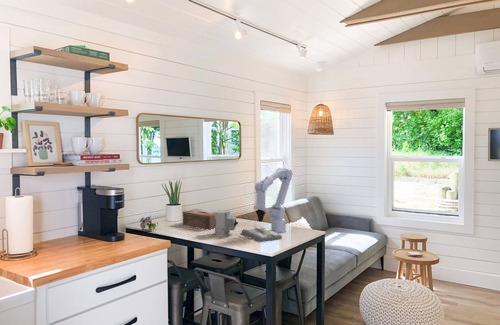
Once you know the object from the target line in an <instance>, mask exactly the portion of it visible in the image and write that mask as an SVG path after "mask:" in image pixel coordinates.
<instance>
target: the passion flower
mask: <svg viewBox="0 0 500 325" xmlns="http://www.w3.org/2000/svg"><path fill="white" fill-rule="evenodd" d="M152 220H153V219H152V215H149V216H147V217H141V219H140V220H139V223H140V224H139V225H140V228H141V229H140V231H144V229H145V228H146V227H147V228H148V231H149V232H150V233H151V232H152V231H154V230H155V229H156V227H157V226H159V222H154V223H153V222H152Z"/></svg>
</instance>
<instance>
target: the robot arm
mask: <svg viewBox="0 0 500 325" xmlns="http://www.w3.org/2000/svg"><path fill="white" fill-rule="evenodd" d="M292 177H293V171H292V169H291V168H286V167H285V168H283V167H278V168H277V169H276V170H275V171H274V173H272V174H271V175H270V176H265V178H264V179H262V180H261V181H258V182H256V183H255V186H254V189H255V193H256V205H253V209H254V210H255V213H256V215H257V219H258V222H261V223H262V222H264V217H265V214H266V213H268V215H269V217H270V219H271V220H270V221H271V222H270V223H271V224H270V225H271V226H270V228H271V229H270V230H271V231H273V232H276V233H278V234H280V233H286V232H287V230H286V229H287V226H286V225H287V224H286V222H287V220H285V215H286V213H285V212H286V208H285V207H284V204H285V200H286V196H287V194H288V191H289V186H290V183H291V180H292ZM277 179H279V181H280V182H281V185H280V187H279V191H278V194H277V197H276V200H275V203H274V204H272V205H271V207H270V209H269V208H267V207H266V192H267V191H268V188H269V187H270V186H271V185H273V184H274V181H275V180H277Z"/></svg>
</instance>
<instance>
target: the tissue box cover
mask: <svg viewBox="0 0 500 325" xmlns="http://www.w3.org/2000/svg"><path fill="white" fill-rule="evenodd" d="M215 212H216V211H212V210H206V209H200V208H199V209H198V208H196V209H189V210H185V211H182V226H186V227H187V226H188V227H191V226H192V228H196V227H197V229H202V228H203V230H207V229H208V230H209V231H211V229H212V230H215V229H214V228H216V219H215ZM208 230H207V231H208Z"/></svg>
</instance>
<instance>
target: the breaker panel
mask: <svg viewBox="0 0 500 325" xmlns="http://www.w3.org/2000/svg"><path fill="white" fill-rule="evenodd" d="M264 229H266V228H265V227H262V226H255V227H254V228H249V227H247V228H242V229H241V234H243V235H245V236H246V237H249V238H252V239H254V240H255V241H257V242H259V243H260V242H261V243H262V242H268V241H274V240H275V241H276V240H281V239H282V238H283V236H282V234H280V233H276V232H273V231H270V235H269V236H267V235H264Z"/></svg>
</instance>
